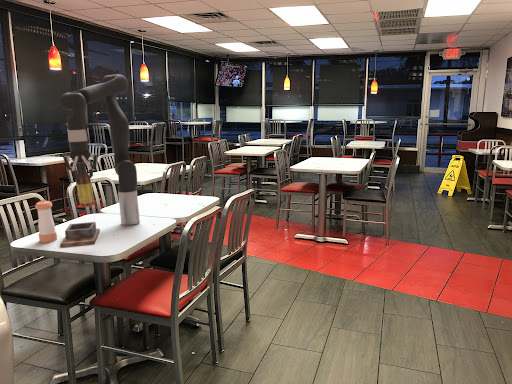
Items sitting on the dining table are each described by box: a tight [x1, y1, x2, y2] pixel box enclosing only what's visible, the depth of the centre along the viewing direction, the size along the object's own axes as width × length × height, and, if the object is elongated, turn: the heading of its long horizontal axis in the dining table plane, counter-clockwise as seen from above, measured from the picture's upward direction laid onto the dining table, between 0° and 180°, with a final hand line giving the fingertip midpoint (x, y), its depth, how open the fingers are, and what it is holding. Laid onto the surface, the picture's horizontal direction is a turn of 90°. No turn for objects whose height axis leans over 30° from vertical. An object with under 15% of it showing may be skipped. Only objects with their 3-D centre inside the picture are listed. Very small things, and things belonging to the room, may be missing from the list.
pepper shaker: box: [34, 199, 58, 244], centre depth 187 cm, size 7×7×19 cm
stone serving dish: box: [59, 221, 101, 248], centre depth 189 cm, size 14×20×6 cm
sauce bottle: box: [75, 162, 95, 208], centre depth 181 cm, size 6×6×20 cm
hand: (83, 178), depth 181 cm, fingers closed on sauce bottle, 5 cm apart
